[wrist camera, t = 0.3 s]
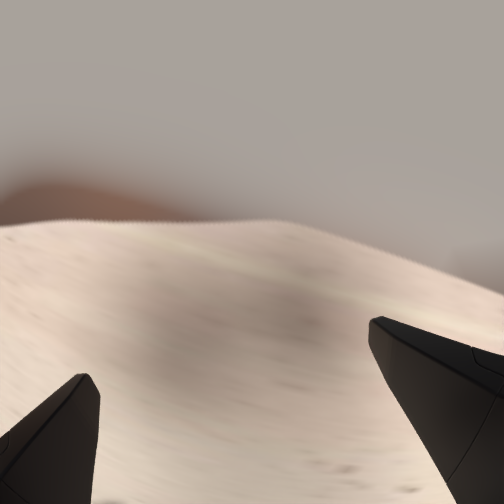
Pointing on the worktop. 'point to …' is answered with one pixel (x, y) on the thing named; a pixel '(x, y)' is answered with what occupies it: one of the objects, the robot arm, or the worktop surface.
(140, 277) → the worktop surface
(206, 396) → the worktop surface
